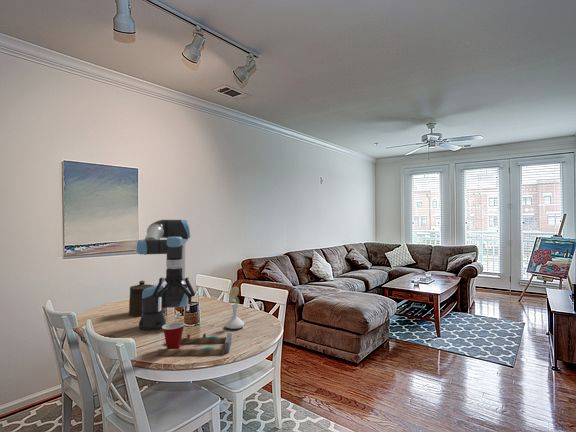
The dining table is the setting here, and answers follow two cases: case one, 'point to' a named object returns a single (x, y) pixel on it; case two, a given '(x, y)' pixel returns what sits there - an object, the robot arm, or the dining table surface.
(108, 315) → the dining table surface
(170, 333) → the plastic cup
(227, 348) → the end stop
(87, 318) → the dining table surface
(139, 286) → the wooden container
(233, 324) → the flower in vase
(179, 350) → the comb channel
